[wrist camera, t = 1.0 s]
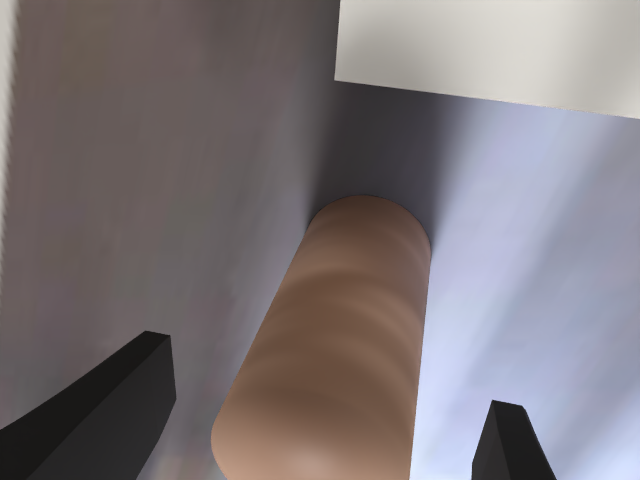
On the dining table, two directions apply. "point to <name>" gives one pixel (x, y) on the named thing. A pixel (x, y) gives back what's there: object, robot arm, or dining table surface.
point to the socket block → (498, 50)
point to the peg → (335, 355)
